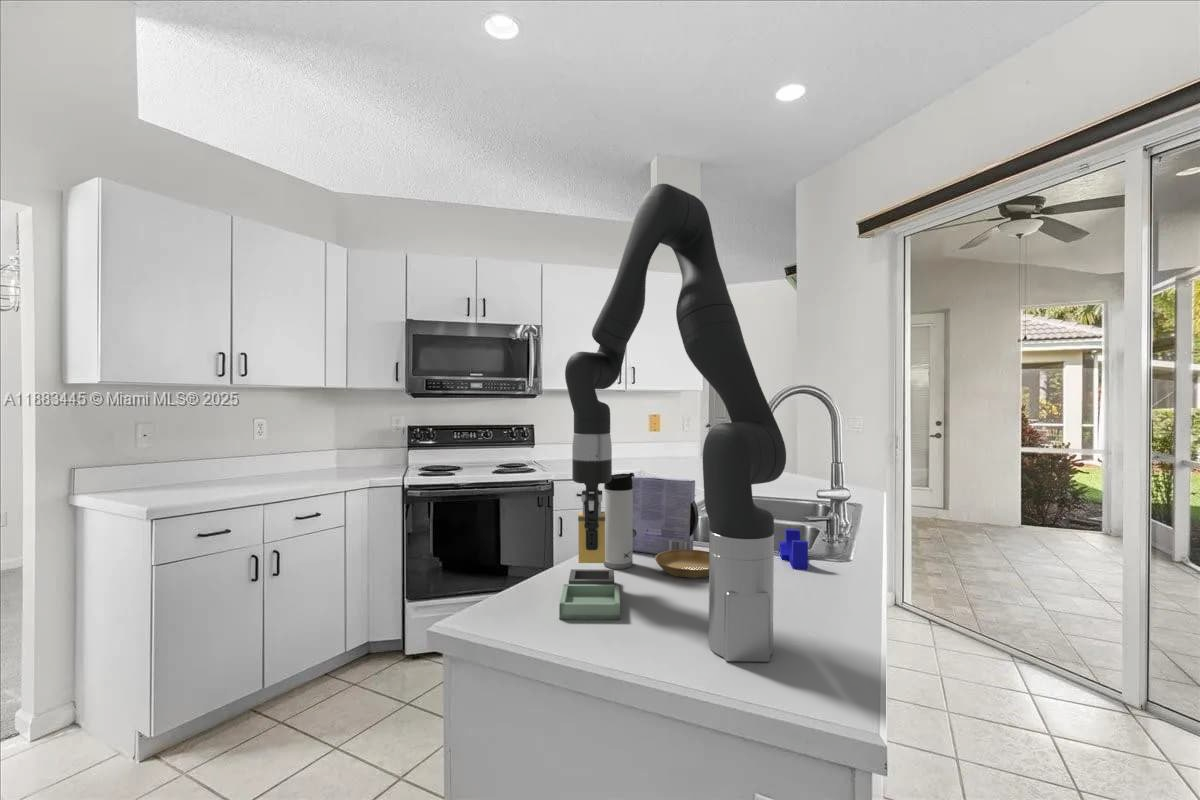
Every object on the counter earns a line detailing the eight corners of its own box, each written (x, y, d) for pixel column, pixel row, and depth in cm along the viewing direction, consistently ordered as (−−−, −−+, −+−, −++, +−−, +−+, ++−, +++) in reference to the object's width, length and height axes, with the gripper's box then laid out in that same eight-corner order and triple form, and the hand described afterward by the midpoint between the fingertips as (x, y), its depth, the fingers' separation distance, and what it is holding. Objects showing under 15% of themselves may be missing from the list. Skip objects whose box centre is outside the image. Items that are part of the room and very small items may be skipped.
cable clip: (778, 554, 137) (778, 528, 137) (798, 555, 136) (798, 529, 136) (785, 569, 125) (785, 541, 125) (807, 570, 124) (807, 542, 124)
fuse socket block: (614, 594, 109) (614, 581, 109) (568, 594, 109) (568, 580, 109) (613, 582, 116) (613, 569, 116) (570, 581, 116) (570, 569, 116)
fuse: (605, 563, 110) (605, 515, 110) (578, 563, 110) (578, 515, 110) (605, 557, 114) (605, 511, 114) (579, 557, 114) (578, 511, 114)
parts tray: (619, 619, 97) (619, 604, 97) (559, 619, 97) (559, 604, 97) (618, 598, 107) (618, 584, 107) (563, 597, 107) (563, 584, 107)
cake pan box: (698, 552, 137) (698, 477, 137) (694, 558, 133) (694, 480, 132) (620, 545, 144) (620, 473, 144) (614, 550, 139) (614, 476, 139)
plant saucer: (732, 582, 117) (732, 569, 117) (658, 582, 117) (658, 569, 117) (717, 561, 132) (717, 549, 132) (652, 560, 132) (652, 549, 132)
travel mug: (634, 569, 124) (635, 475, 124) (603, 569, 124) (603, 475, 124) (633, 561, 130) (633, 471, 130) (603, 560, 131) (604, 471, 130)
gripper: (612, 461, 105) (612, 557, 105) (611, 453, 119) (611, 537, 119) (570, 461, 105) (570, 557, 105) (574, 453, 119) (574, 537, 119)
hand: (592, 546), depth 112 cm, fingers closed on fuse, 3 cm apart
